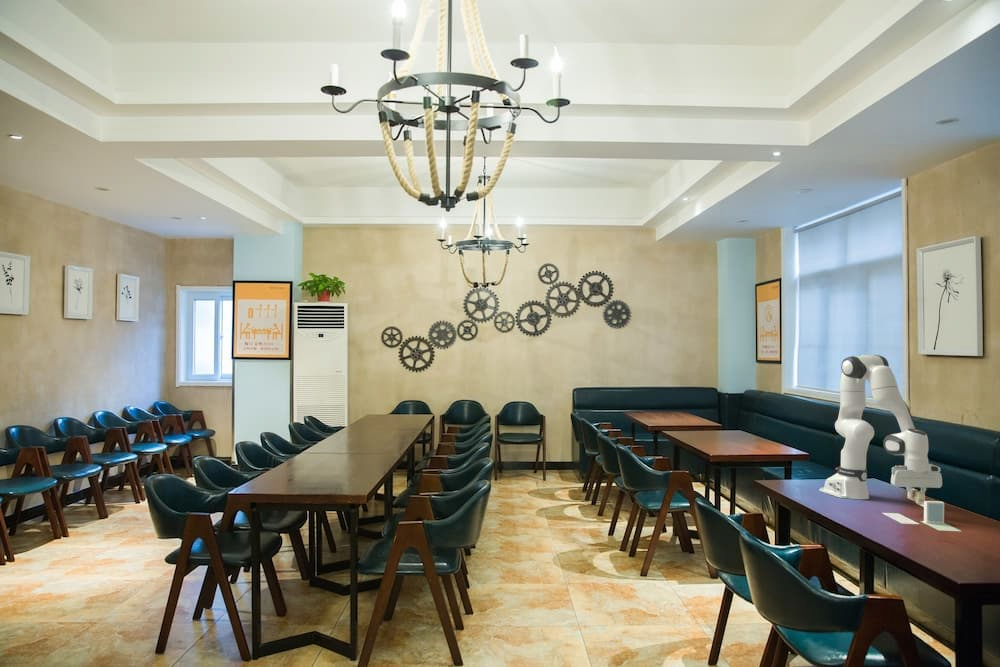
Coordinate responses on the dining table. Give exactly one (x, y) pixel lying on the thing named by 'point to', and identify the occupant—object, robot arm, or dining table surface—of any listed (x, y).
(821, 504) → the dining table surface
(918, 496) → the turner
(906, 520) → the pad
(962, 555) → the dining table surface
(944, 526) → the mat
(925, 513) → the tile
